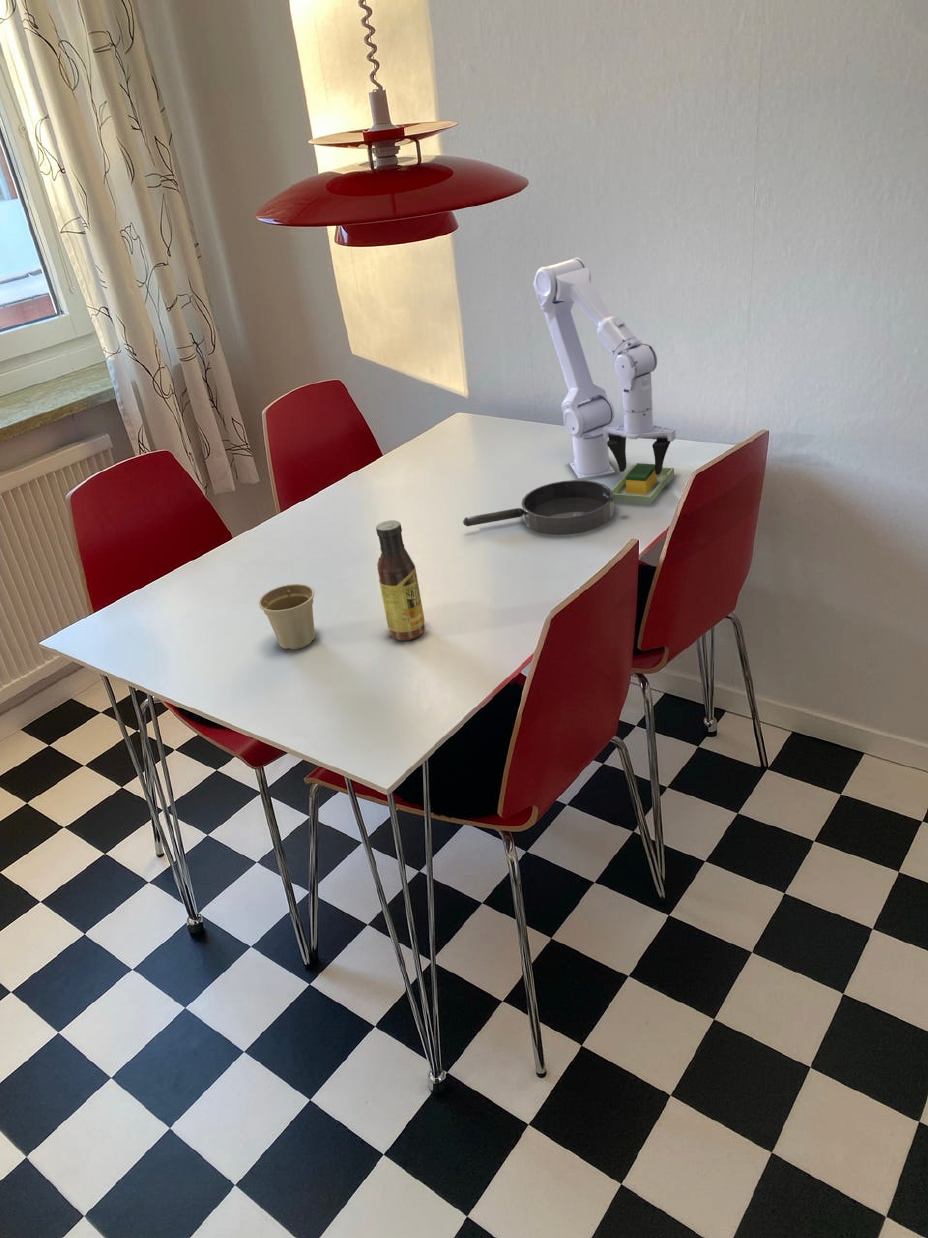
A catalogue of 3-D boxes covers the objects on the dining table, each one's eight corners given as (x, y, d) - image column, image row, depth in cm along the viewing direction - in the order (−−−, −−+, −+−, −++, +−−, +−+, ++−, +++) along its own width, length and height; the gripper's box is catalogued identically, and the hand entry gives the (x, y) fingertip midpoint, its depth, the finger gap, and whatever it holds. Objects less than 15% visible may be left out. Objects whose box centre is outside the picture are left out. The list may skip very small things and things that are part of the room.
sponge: (638, 479, 207) (637, 463, 205) (657, 481, 205) (656, 464, 203) (626, 493, 202) (625, 476, 200) (646, 494, 200) (645, 477, 198)
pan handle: (523, 514, 196) (522, 505, 195) (524, 517, 195) (523, 509, 194) (463, 524, 196) (461, 516, 195) (464, 528, 194) (463, 520, 193)
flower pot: (299, 621, 175) (288, 578, 170) (336, 634, 169) (325, 590, 165) (259, 646, 169) (247, 603, 165) (295, 660, 163) (283, 616, 159)
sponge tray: (633, 473, 211) (633, 465, 210) (674, 476, 207) (674, 467, 206) (608, 502, 200) (607, 493, 199) (651, 505, 196) (650, 497, 195)
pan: (517, 507, 204) (514, 489, 202) (601, 492, 205) (600, 474, 203) (532, 543, 189) (530, 524, 187) (624, 526, 189) (623, 507, 187)
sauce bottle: (421, 642, 163) (401, 534, 153) (385, 642, 164) (363, 535, 154) (430, 621, 168) (411, 516, 158) (395, 622, 170) (374, 517, 160)
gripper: (596, 413, 195) (600, 476, 202) (666, 416, 188) (668, 481, 195) (608, 401, 200) (612, 463, 207) (678, 403, 194) (679, 467, 200)
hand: (640, 471), depth 202 cm, fingers open, 7 cm apart
